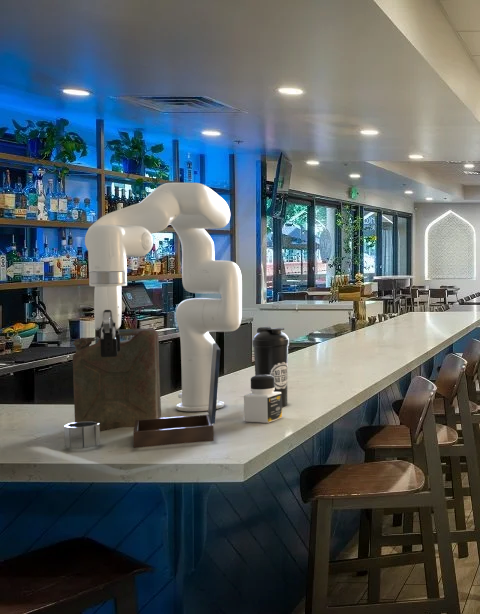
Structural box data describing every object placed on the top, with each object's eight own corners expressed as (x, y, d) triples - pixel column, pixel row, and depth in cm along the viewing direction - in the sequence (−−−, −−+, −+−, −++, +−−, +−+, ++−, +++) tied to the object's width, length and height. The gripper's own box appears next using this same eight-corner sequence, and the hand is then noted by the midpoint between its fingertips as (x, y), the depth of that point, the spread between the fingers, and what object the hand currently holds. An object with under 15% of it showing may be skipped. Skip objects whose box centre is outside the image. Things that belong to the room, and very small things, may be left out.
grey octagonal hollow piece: (60, 449, 179) (59, 425, 178) (90, 443, 184) (89, 420, 184) (74, 453, 175) (73, 428, 175) (104, 447, 180) (104, 423, 180)
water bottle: (269, 410, 224) (268, 329, 223) (246, 406, 229) (244, 328, 228) (297, 404, 233) (296, 327, 231) (274, 401, 238) (273, 325, 237)
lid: (216, 349, 183) (220, 349, 183) (213, 343, 196) (216, 343, 197) (211, 423, 184) (215, 423, 184) (208, 412, 197) (211, 412, 197)
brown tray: (133, 451, 177) (133, 432, 177) (135, 437, 190) (135, 420, 190) (213, 443, 184) (213, 425, 184) (210, 431, 197) (209, 414, 197)
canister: (162, 422, 208) (159, 327, 206) (156, 428, 200) (153, 330, 198) (82, 426, 203) (79, 329, 201) (72, 433, 195) (69, 332, 193)
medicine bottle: (268, 423, 207) (267, 377, 206) (243, 422, 208) (242, 377, 207) (282, 417, 214) (281, 374, 213) (258, 416, 215) (257, 373, 214)
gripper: (93, 278, 186) (96, 350, 187) (85, 281, 170) (88, 359, 172) (129, 278, 189) (131, 348, 190) (124, 280, 173) (127, 358, 175)
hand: (111, 354), depth 181 cm, fingers open, 9 cm apart
